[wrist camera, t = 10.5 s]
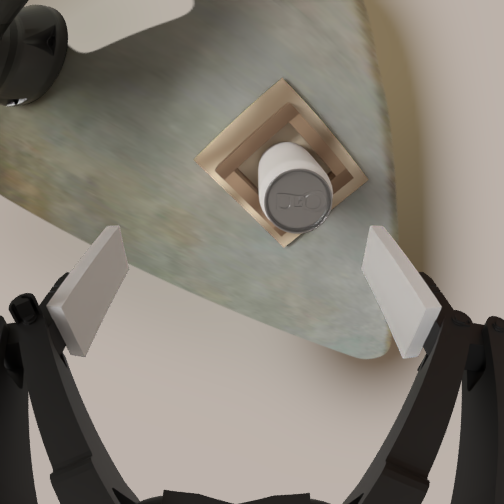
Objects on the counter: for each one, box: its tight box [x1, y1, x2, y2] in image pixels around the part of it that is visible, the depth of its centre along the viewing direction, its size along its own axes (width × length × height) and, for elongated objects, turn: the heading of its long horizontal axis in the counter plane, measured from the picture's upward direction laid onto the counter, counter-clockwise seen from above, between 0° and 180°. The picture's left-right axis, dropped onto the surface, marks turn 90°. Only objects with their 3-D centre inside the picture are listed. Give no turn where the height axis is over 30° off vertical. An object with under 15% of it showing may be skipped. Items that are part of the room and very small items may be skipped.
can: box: [258, 142, 333, 234], centre depth 30 cm, size 6×6×12 cm
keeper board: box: [194, 78, 368, 247], centre depth 34 cm, size 16×14×3 cm
